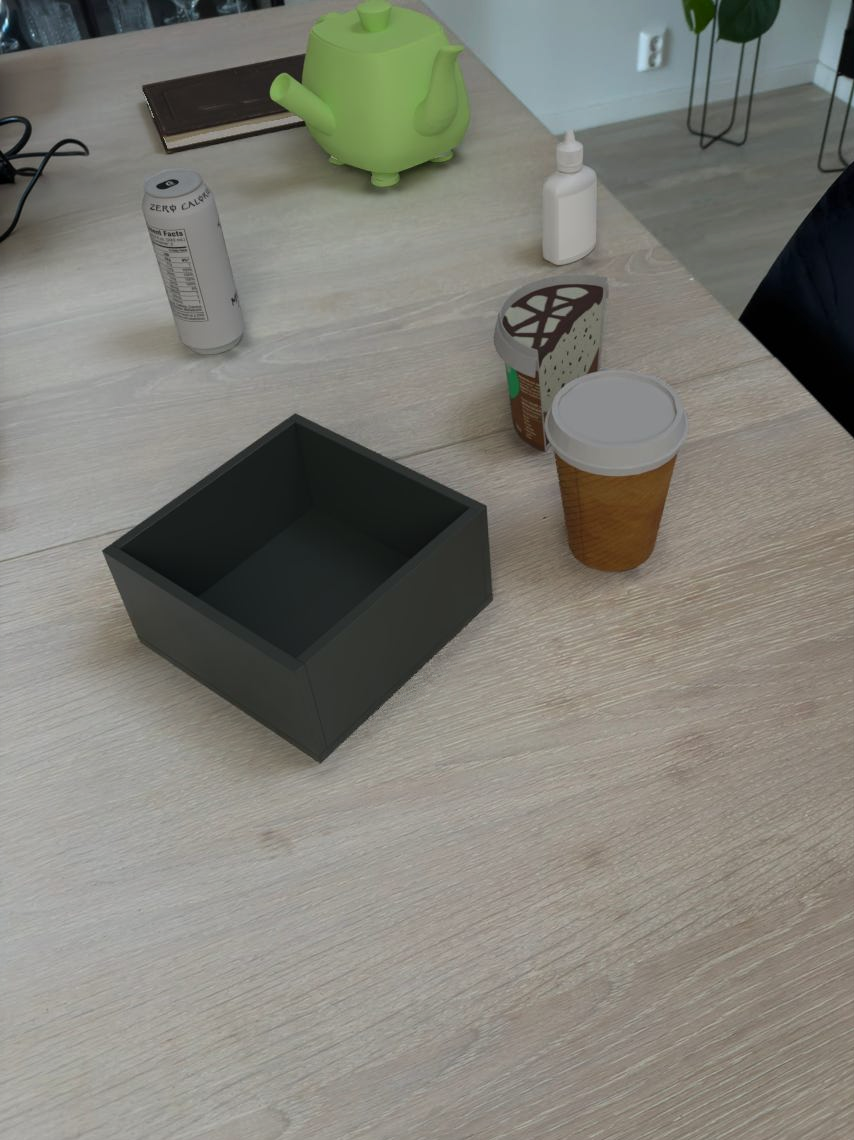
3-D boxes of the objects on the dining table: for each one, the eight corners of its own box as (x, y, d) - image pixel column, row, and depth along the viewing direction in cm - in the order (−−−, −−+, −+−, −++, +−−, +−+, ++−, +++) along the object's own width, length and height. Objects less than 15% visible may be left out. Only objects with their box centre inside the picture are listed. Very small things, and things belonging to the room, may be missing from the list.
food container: (543, 362, 99) (541, 256, 91) (606, 380, 96) (609, 273, 89) (469, 440, 92) (461, 333, 84) (536, 462, 90) (533, 354, 82)
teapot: (237, 168, 127) (204, 17, 116) (386, 106, 136) (370, -40, 125) (373, 245, 114) (351, 82, 102) (528, 171, 123) (525, 13, 111)
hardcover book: (357, 114, 135) (354, 95, 134) (166, 154, 131) (161, 134, 129) (323, 67, 146) (320, 48, 144) (145, 102, 141) (140, 83, 140)
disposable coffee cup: (640, 486, 87) (649, 352, 78) (700, 564, 81) (717, 428, 72) (526, 521, 85) (521, 387, 76) (579, 604, 79) (580, 469, 70)
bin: (320, 764, 71) (295, 673, 64) (139, 642, 79) (101, 550, 72) (493, 600, 80) (487, 505, 73) (315, 505, 88) (295, 412, 81)
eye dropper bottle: (603, 259, 110) (606, 136, 101) (547, 269, 109) (545, 145, 100) (591, 238, 113) (593, 116, 104) (536, 247, 112) (533, 125, 103)
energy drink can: (259, 339, 104) (222, 180, 93) (202, 366, 101) (157, 206, 90) (225, 313, 107) (186, 157, 96) (169, 339, 105) (122, 181, 94)
